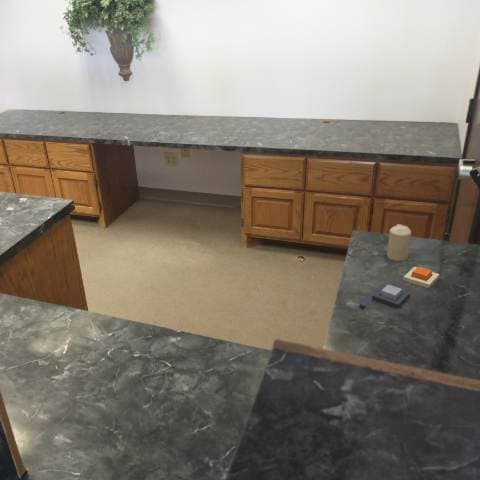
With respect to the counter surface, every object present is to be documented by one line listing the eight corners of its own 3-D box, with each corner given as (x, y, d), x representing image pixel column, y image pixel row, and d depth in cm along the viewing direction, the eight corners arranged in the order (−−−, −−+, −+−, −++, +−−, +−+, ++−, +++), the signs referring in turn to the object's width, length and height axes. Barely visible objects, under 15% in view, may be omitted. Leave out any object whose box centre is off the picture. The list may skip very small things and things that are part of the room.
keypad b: (381, 287, 135) (382, 278, 134) (420, 300, 128) (422, 290, 127) (359, 307, 128) (360, 297, 127) (399, 322, 121) (400, 312, 120)
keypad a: (410, 270, 141) (412, 260, 140) (449, 281, 135) (451, 271, 133) (391, 288, 134) (392, 278, 133) (430, 301, 128) (432, 291, 126)
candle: (384, 253, 151) (387, 222, 147) (403, 252, 151) (407, 221, 146) (391, 262, 146) (394, 231, 142) (410, 260, 146) (415, 229, 141)
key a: (417, 271, 136) (418, 266, 135) (431, 275, 133) (432, 270, 132) (411, 277, 134) (412, 271, 133) (425, 281, 131) (426, 275, 130)
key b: (387, 290, 130) (388, 284, 129) (401, 294, 127) (402, 288, 126) (380, 296, 127) (381, 290, 127) (394, 301, 125) (395, 295, 124)
